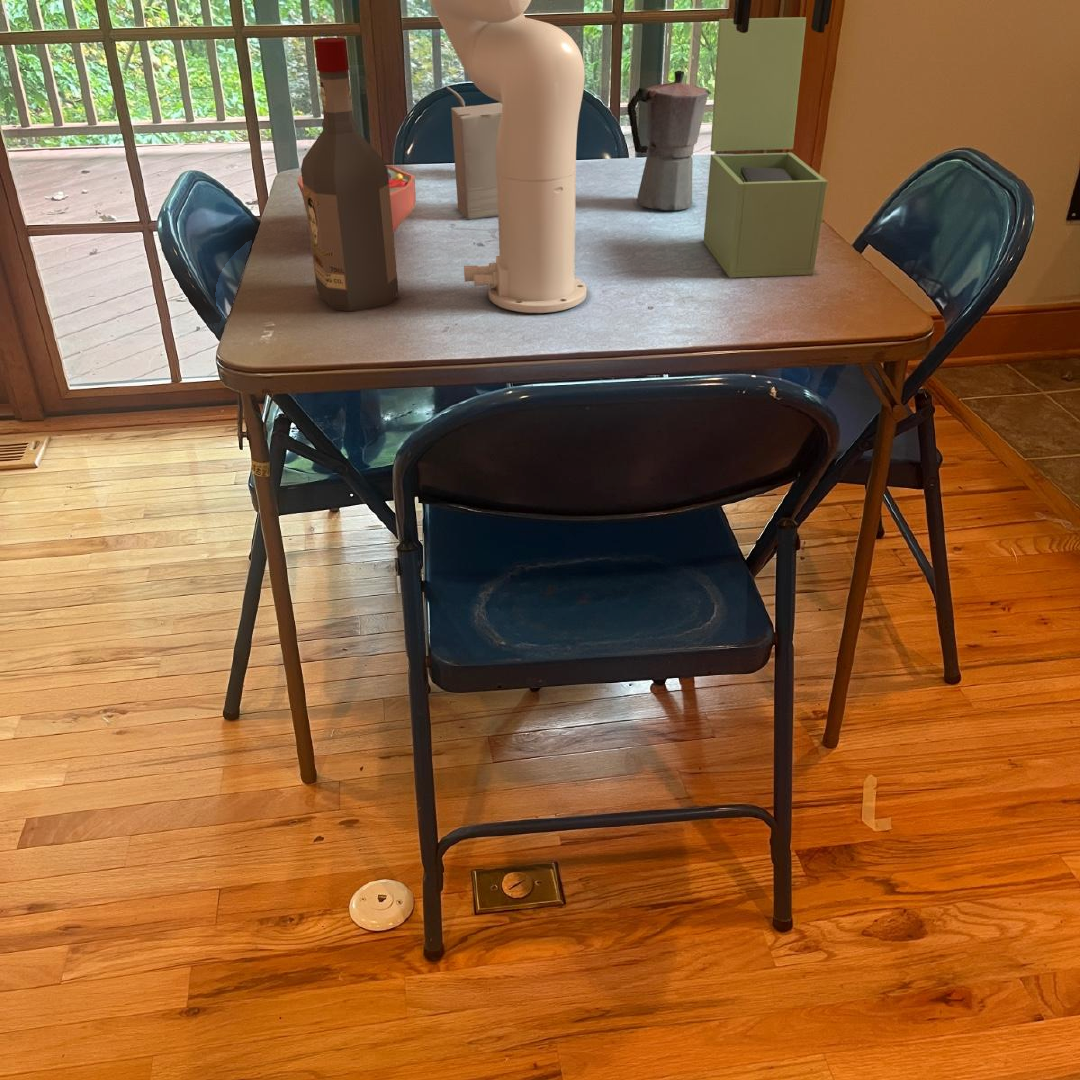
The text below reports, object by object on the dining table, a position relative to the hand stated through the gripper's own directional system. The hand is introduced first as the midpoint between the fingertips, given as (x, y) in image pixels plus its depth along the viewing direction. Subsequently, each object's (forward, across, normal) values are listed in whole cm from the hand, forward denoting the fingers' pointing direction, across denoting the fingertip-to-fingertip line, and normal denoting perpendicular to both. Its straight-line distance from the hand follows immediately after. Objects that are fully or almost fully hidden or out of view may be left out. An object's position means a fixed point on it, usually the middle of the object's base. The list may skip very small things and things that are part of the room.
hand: (779, 31), depth 125 cm
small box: (+28, +1, 0) cm, 28 cm away
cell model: (+30, -55, +16) cm, 65 cm away
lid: (+8, +1, +8) cm, 11 cm away
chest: (+29, +1, 0) cm, 29 cm away
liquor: (+30, -54, -10) cm, 63 cm away
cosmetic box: (+29, -36, +26) cm, 53 cm away
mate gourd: (+29, -36, +49) cm, 68 cm away
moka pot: (+29, -7, +27) cm, 40 cm away
